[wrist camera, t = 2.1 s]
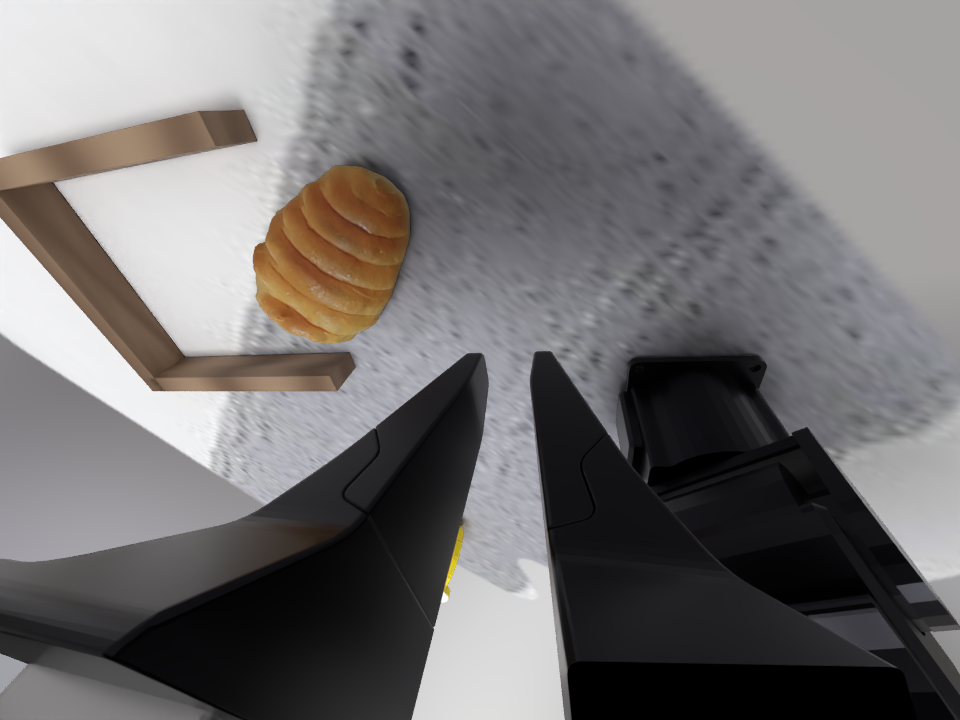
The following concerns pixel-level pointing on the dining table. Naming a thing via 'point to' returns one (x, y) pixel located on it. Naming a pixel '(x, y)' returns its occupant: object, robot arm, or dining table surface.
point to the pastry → (333, 255)
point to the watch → (453, 564)
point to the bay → (99, 284)
